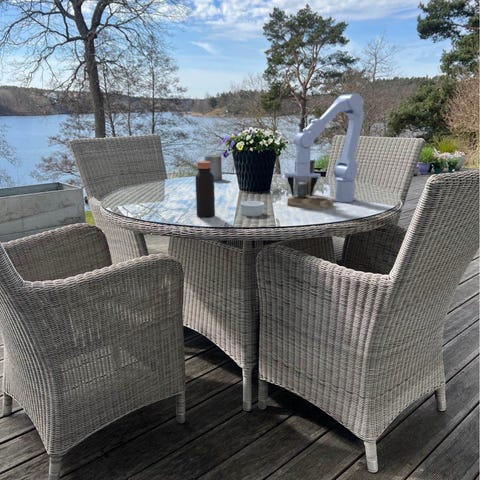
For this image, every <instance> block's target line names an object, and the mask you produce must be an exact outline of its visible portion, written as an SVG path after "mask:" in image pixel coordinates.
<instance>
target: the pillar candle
mask: <svg viewBox="0 0 480 480" xmlns="http://www.w3.org/2000/svg"><path fill="white" fill-rule="evenodd" d="M204 161H209V162H211V169H210V172H211V173H212V174H213V175H214V182H215V181H216V182H217V181H221V180H222V179H223V172H222V171H223V170H222V169H223V168H222V167H223V166H222V155H221V154H220V155H219V154H208V155H207V154H206V155H204Z"/></svg>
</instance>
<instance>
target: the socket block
mask: <svg viewBox="0 0 480 480" xmlns="http://www.w3.org/2000/svg"><path fill="white" fill-rule="evenodd" d="M333 199H334V198H332V197H323V196H315V195H312V196H307V195H306V199H302V198H297V195H296V196H291V197H287V203H286V205H287V206H289V207H297V208H304V209H314V210H322V211H324V210H326V209H328V208H331V207H333V206H334V201H333Z"/></svg>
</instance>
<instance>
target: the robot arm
mask: <svg viewBox="0 0 480 480" xmlns="http://www.w3.org/2000/svg"><path fill="white" fill-rule="evenodd" d="M364 103H365V100H364V99H363V97H362V96H361V94H359V93H357V92H356V93H352V94H350V93H349V94H344V93H343V94H341V95H339V96H338V98H336V99H335V100H334V102H333V103H332V104H331V105H330V107H328V108H327V110H326V111H325V112H324V113H323V114H322V115H321V117H319V118H315V119H311V121H310V124H308V125H307V126H306V127H305V128H303V129H302V132H298V133H297V134H296V135H295V138H294V139H293V144H294V145H295V148H296V149H295V151H296V152H295V156H296V157H295V161H296V173H295V172H284V179H287V182H288V184H289V187H290V191H291V197H293V196H294V186H295V178H311V190H310V196H313V195H312V192H313V189H314V190H315V186H316V184H317V182H318V180H321V175H322V174H321V173H315V172H314V173H310V160H311V151H312V150H311V148H312V146H313V145H314V144H315V143H314V142H315V139H317V138H318V137H319V136H320V135H321V134H322V133H323V132H324V131H325V129H326V126H327V124H328V123H329V122H331V120H333V119H334V117H336V116H337V115H338V114H340V113H341V112H342V113H344V114H345V115H346V116H347V117H348V119H349V120H348V127H347V130H346V134H345V140H344V144H343V149H342V153H341V157H340V158H338V159H337V162H336V165H334V168H333V175H334V177H335V193H334V194H335V195H334V197H335V198H333V202H340V203H348V204H349V203H351V202H354V201H356V200H357V197H355V196H356V195H355V194H356V183H355V180H356V179H357V177H358V165H359V164H358V162H357V160H356V154H357V150H358V145H359V141H360V137H361V131H362V127H363V122H364V119H365V115H364V114H365V113H364ZM298 176H300V177H298Z"/></svg>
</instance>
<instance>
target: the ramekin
mask: <svg viewBox="0 0 480 480" xmlns="http://www.w3.org/2000/svg"><path fill="white" fill-rule="evenodd" d="M264 205H265V203H264V202H263V201H259V200H246V201H241V202H240V206H241V208H240V209H241V214H242V215H243V216H246V217H258V216H262V215H263V213H264Z"/></svg>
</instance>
